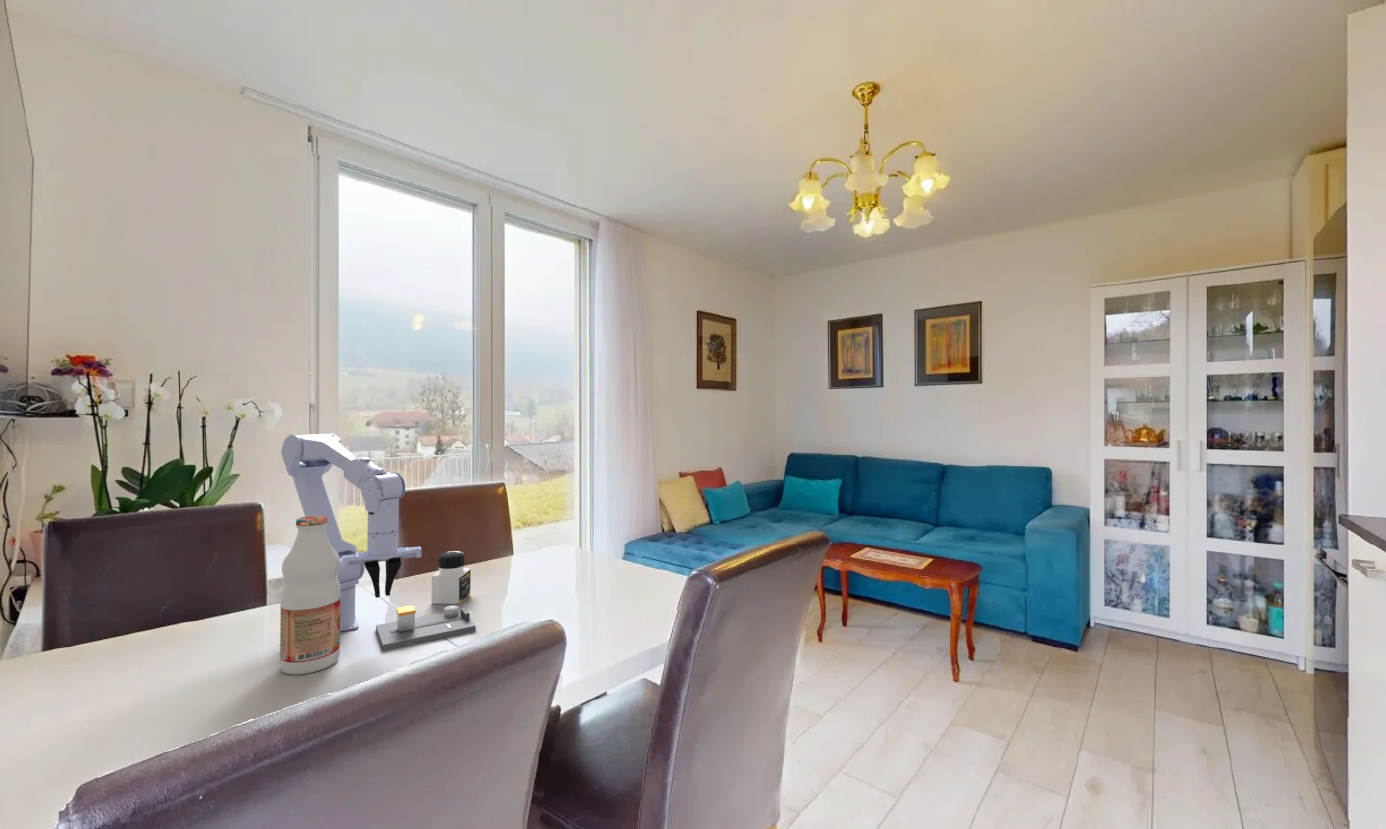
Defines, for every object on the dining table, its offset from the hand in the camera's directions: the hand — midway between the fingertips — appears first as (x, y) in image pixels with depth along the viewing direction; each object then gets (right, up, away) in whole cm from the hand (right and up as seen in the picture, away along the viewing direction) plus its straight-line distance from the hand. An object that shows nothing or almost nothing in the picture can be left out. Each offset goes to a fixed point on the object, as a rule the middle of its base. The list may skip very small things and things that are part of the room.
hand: (382, 595), depth 117 cm
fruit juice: (-7, -10, -11) cm, 17 cm away
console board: (+7, -10, +5) cm, 13 cm away
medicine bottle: (+4, -9, +25) cm, 27 cm away
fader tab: (+3, -8, +3) cm, 9 cm away
